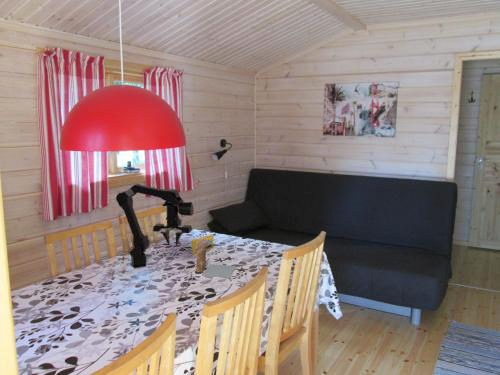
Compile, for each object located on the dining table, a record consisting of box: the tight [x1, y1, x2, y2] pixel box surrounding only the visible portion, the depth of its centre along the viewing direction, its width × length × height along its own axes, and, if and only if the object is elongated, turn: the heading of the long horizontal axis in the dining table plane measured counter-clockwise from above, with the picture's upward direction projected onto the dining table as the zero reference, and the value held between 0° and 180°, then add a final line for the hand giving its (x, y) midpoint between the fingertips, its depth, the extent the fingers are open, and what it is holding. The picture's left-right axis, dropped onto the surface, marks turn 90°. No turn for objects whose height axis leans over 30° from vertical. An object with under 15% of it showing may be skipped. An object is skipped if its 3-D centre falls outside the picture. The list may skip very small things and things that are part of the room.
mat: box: [201, 264, 237, 278], centre depth 216 cm, size 14×16×1 cm
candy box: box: [191, 234, 214, 255], centre depth 248 cm, size 16×2×8 cm, turn 143°
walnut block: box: [195, 249, 207, 273], centre depth 216 cm, size 3×7×10 cm, turn 172°
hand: (172, 244), depth 218 cm, fingers open, 4 cm apart
